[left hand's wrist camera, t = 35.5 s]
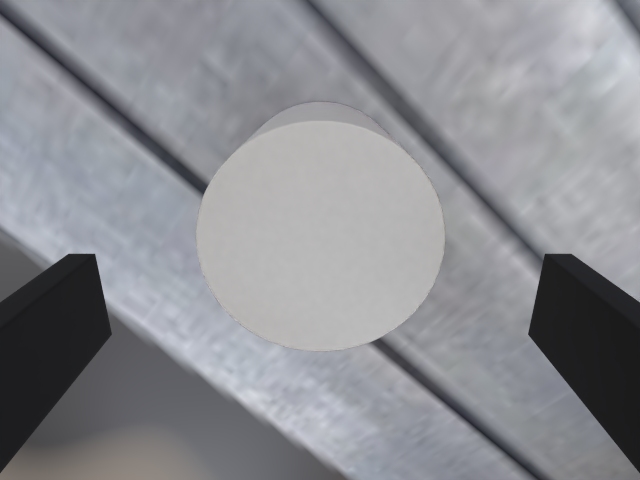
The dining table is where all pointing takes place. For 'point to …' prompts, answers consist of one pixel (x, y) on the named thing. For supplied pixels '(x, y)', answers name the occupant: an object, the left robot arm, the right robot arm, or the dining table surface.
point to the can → (320, 230)
